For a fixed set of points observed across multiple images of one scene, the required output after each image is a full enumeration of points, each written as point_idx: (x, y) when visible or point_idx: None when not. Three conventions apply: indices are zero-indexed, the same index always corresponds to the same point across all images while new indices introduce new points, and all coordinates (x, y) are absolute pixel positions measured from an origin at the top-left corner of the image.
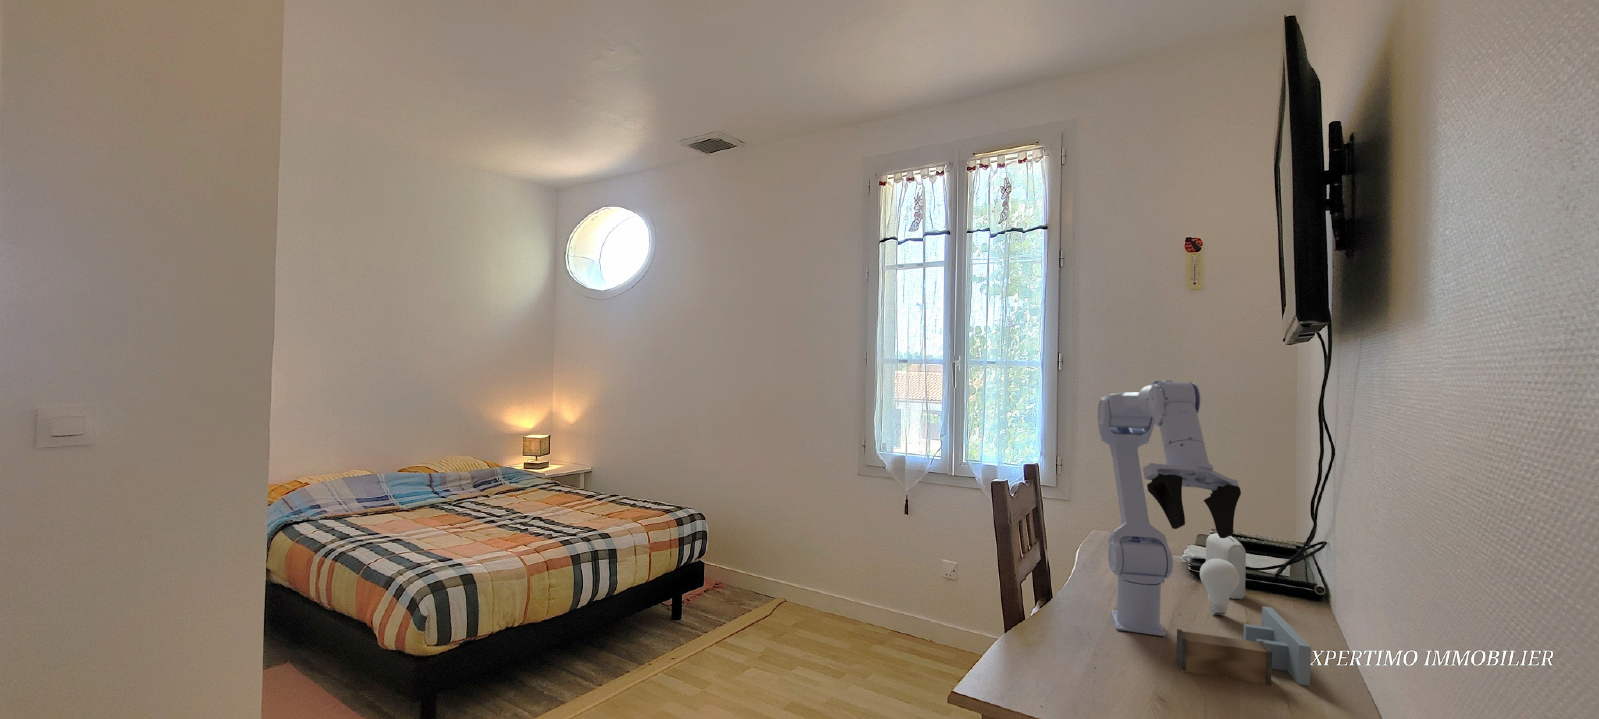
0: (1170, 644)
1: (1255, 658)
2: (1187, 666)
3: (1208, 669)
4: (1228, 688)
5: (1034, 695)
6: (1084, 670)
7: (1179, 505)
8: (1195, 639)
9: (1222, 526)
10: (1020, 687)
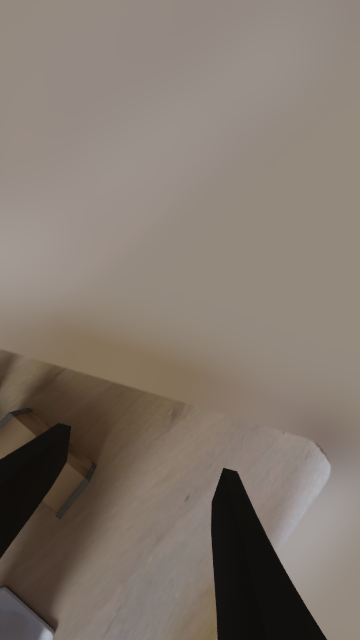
0: (24, 553)
1: (28, 422)
2: (90, 464)
3: (73, 450)
4: (86, 415)
5: (280, 452)
6: (203, 493)
7: (256, 536)
8: (68, 478)
9: (48, 470)
10: (284, 470)
